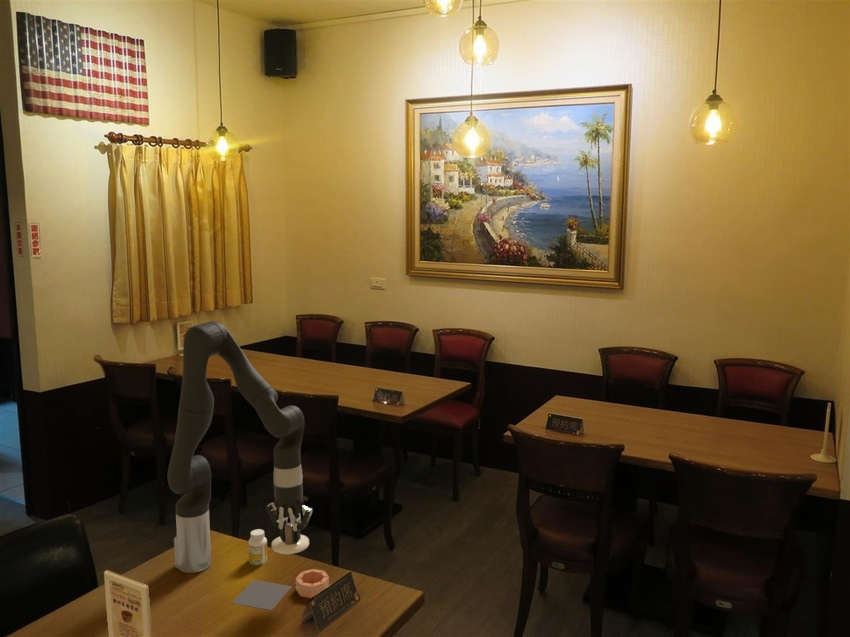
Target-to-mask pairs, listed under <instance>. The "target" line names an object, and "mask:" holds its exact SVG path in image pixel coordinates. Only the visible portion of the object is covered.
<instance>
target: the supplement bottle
mask: <svg viewBox="0 0 850 637" xmlns="http://www.w3.org/2000/svg"><path fill="white" fill-rule="evenodd" d="M267 562H268V539H267V537H265V530H264V529H261V528H257V529H254V530H251V531H250V538H249V539H248V563H249V564H250V565H251V566H262V565H264V564H266V563H267Z"/></svg>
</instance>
